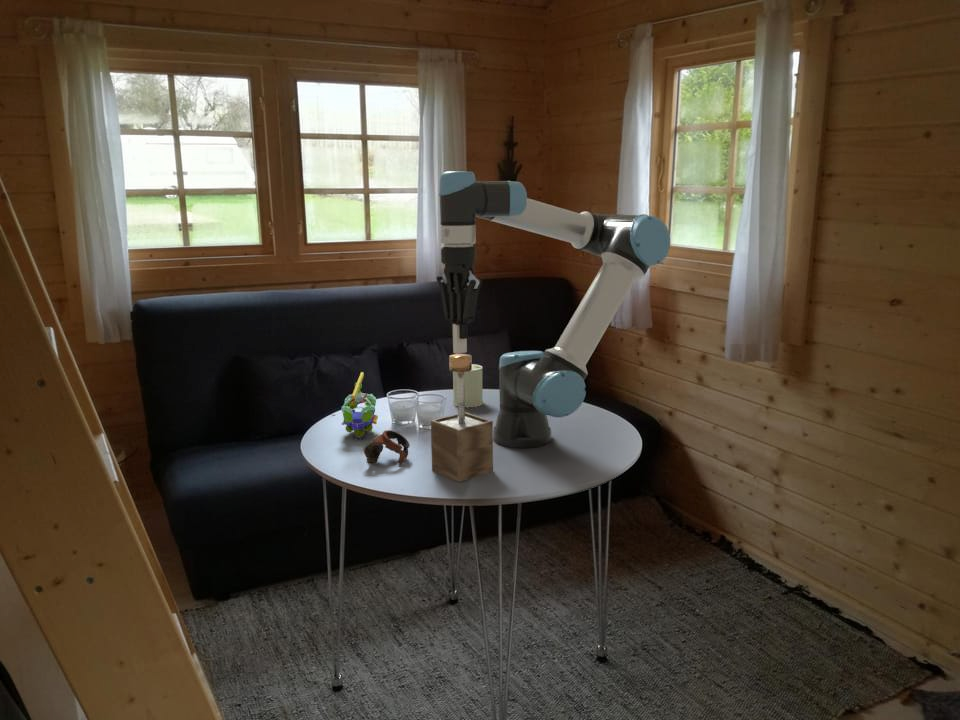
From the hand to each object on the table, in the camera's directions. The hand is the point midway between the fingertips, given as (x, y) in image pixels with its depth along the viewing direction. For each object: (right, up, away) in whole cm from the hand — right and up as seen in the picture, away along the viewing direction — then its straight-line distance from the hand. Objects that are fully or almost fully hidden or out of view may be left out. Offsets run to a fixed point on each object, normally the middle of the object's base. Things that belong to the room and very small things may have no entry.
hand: (460, 352), depth 161 cm
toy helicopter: (-27, -22, +32) cm, 48 cm away
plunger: (0, -17, +4) cm, 17 cm away
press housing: (0, -27, +6) cm, 28 cm away
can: (+1, -15, +61) cm, 63 cm away
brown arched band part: (-18, -26, +13) cm, 35 cm away
